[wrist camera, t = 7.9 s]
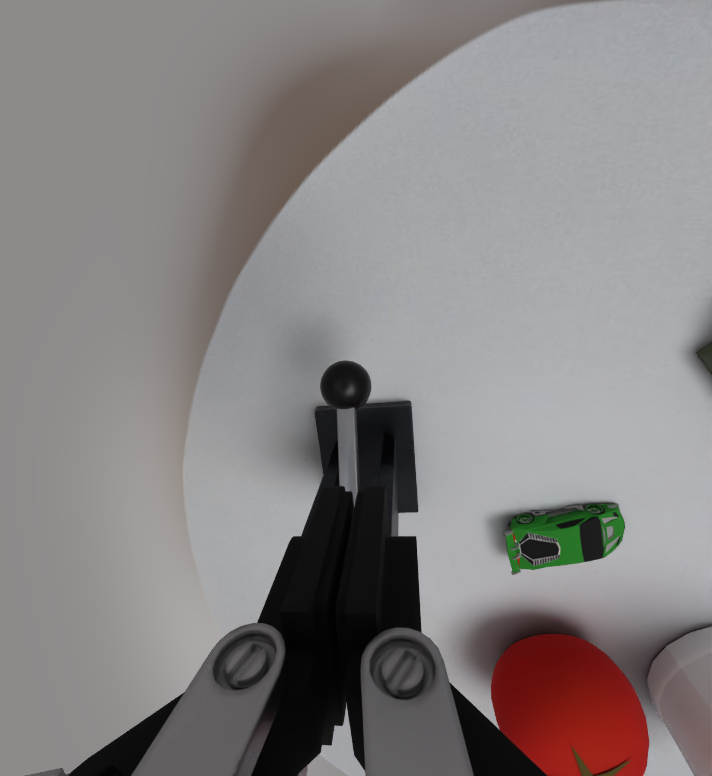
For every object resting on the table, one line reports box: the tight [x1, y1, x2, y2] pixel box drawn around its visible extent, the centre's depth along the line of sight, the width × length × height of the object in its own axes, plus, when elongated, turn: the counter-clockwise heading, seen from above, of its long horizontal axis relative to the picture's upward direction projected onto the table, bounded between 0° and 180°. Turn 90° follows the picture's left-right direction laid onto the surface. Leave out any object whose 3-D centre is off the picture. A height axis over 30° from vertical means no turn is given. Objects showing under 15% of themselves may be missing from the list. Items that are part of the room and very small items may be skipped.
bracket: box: [301, 401, 418, 536], centre depth 28 cm, size 10×8×14 cm
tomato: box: [491, 634, 649, 776], centre depth 34 cm, size 12×12×10 cm
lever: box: [320, 361, 371, 506], centre depth 23 cm, size 13×3×3 cm, turn 6°
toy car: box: [504, 504, 625, 575], centre depth 33 cm, size 10×5×2 cm, turn 105°
